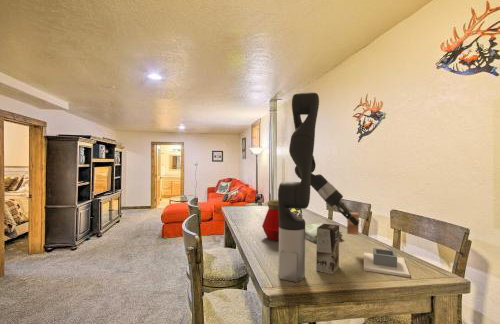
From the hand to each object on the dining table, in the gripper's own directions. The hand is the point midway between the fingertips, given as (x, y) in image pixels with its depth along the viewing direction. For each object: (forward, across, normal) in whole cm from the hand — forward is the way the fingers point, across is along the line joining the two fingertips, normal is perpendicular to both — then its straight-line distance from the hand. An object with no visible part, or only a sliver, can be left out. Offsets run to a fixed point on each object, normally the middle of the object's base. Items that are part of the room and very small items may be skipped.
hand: (357, 223), depth 120 cm
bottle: (-18, +7, +38) cm, 42 cm away
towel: (-5, +22, +24) cm, 33 cm away
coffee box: (+3, -23, +17) cm, 28 cm away
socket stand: (+17, -10, +2) cm, 20 cm away
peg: (+2, 0, +5) cm, 5 cm away
